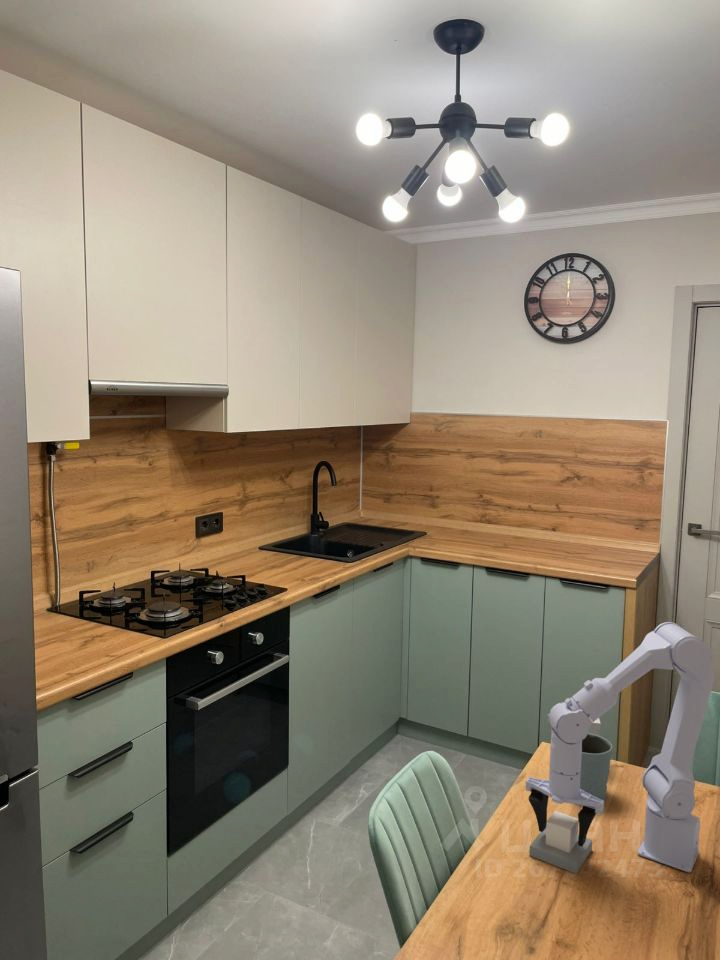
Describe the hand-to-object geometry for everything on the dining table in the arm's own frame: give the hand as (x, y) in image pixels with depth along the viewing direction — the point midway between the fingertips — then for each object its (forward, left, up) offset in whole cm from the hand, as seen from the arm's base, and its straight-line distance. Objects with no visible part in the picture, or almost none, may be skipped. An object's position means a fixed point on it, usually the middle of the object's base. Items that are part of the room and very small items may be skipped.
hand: (561, 836), depth 138 cm
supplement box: (+8, -36, -4) cm, 37 cm away
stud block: (0, 0, -3) cm, 3 cm away
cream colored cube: (0, 0, -1) cm, 1 cm away
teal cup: (+3, -24, -4) cm, 24 cm away
